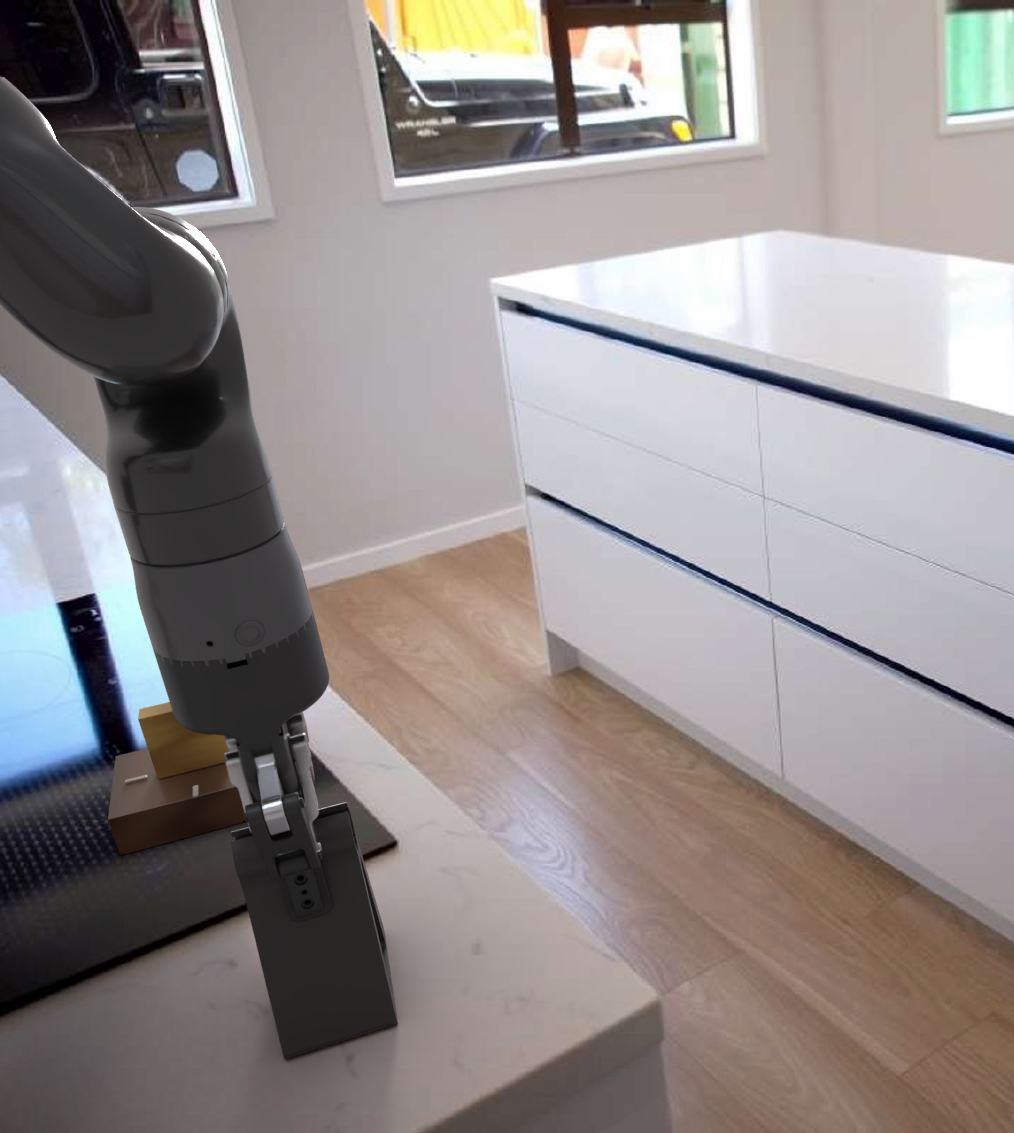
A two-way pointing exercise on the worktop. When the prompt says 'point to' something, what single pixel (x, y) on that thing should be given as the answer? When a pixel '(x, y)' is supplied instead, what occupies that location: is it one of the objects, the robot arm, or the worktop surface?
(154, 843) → the plate
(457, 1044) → the worktop surface
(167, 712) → the lock knob
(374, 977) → the phone stand
